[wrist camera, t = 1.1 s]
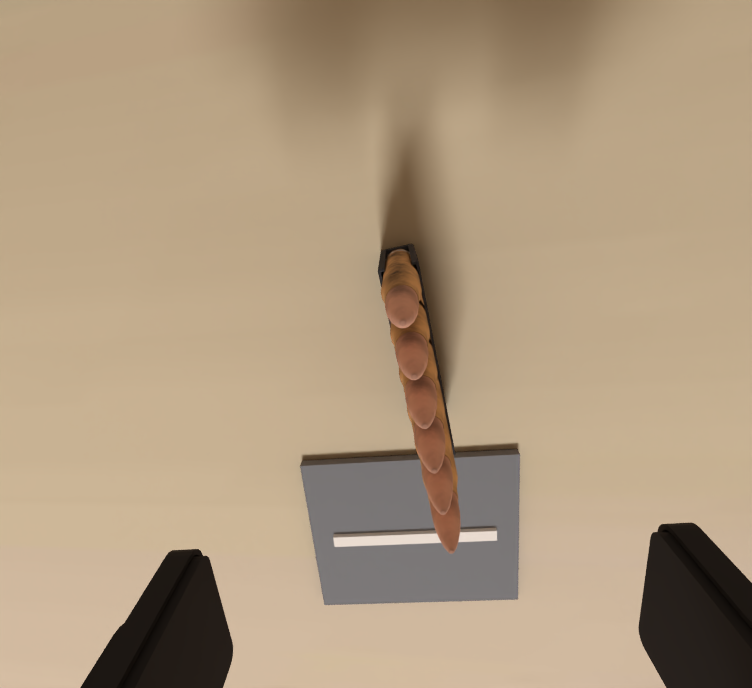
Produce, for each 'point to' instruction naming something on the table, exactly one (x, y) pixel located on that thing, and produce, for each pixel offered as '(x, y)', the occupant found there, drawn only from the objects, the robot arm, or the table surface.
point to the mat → (413, 529)
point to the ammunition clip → (422, 386)
